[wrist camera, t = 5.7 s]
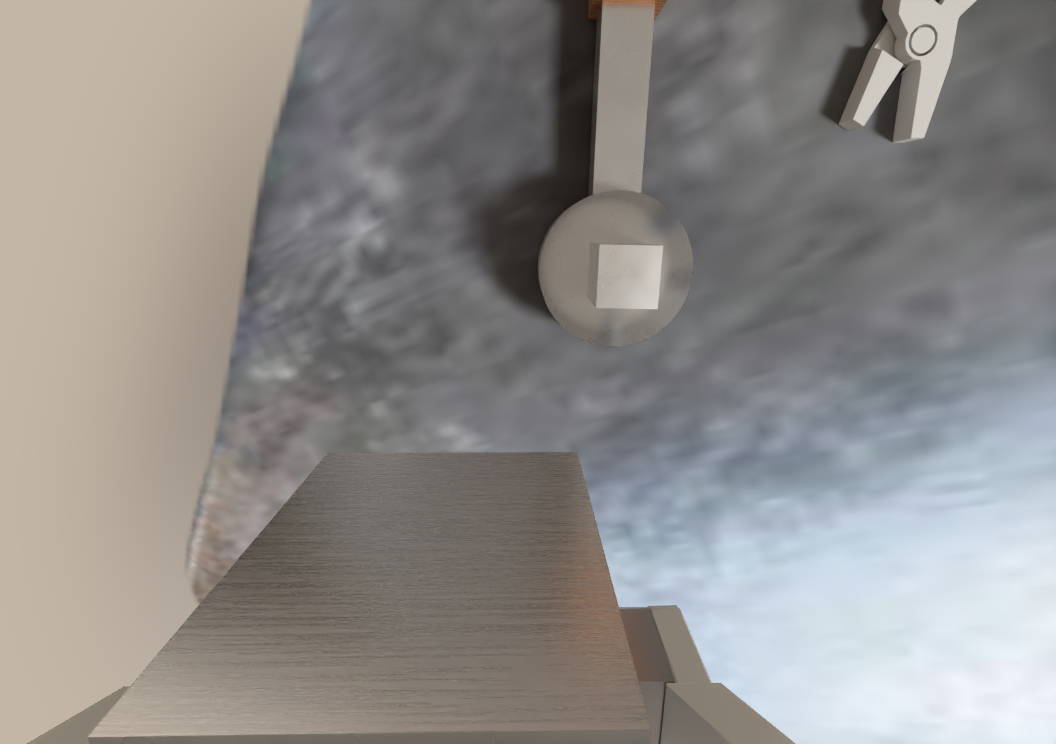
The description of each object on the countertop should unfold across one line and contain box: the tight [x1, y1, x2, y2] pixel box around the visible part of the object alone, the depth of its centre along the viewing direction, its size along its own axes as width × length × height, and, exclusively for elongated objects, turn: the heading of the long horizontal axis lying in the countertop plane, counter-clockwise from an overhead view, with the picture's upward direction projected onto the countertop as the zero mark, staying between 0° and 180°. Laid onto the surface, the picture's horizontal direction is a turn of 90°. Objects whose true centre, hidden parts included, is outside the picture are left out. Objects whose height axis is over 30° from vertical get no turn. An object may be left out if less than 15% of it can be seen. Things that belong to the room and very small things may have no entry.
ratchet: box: [537, 0, 693, 347], centre depth 22 cm, size 22×7×6 cm, turn 179°
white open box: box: [87, 452, 651, 744], centre depth 8 cm, size 5×5×6 cm
